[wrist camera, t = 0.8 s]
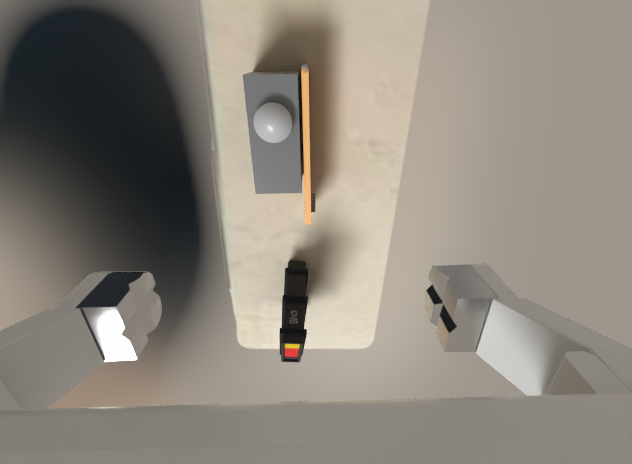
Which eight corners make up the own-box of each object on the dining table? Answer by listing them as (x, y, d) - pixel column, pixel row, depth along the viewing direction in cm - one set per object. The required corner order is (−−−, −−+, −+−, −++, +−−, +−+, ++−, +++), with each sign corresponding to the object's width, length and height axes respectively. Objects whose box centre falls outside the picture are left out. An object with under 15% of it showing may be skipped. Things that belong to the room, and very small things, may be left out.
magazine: (309, 250, 52) (306, 343, 44) (304, 285, 63) (301, 365, 55) (286, 249, 52) (278, 342, 44) (285, 284, 63) (279, 364, 54)
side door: (302, 63, 40) (301, 64, 35) (313, 63, 40) (313, 64, 35) (305, 206, 50) (305, 224, 45) (314, 206, 50) (315, 224, 45)
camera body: (252, 71, 41) (241, 75, 34) (299, 71, 41) (297, 74, 34) (262, 175, 48) (254, 196, 41) (302, 175, 48) (301, 195, 41)
